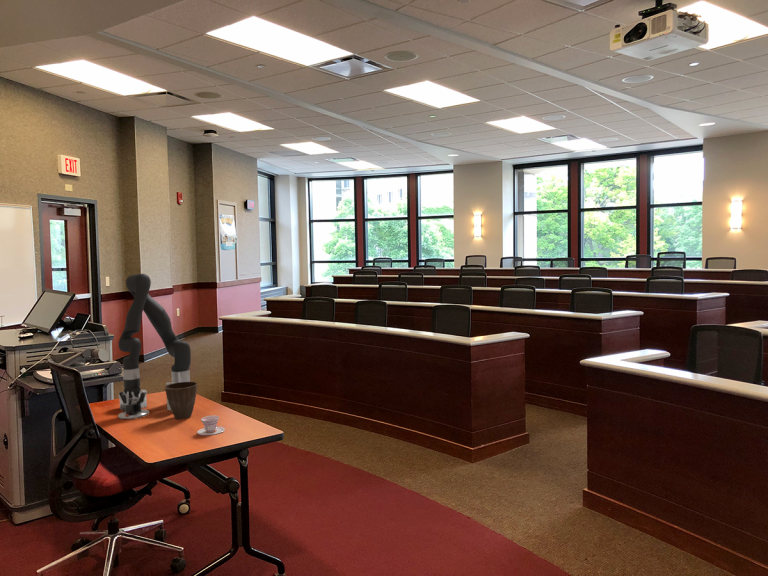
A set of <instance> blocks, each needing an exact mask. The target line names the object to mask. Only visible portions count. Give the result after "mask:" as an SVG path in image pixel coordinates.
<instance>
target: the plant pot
mask: <svg viewBox="0 0 768 576" xmlns="http://www.w3.org/2000/svg"><path fill="white" fill-rule="evenodd" d="M164 391H165V393H166V394H165V396H166V400H167V399H168V402H169V405H170V408H171V410H172V411H171V412H172V415H173V417H174V419H175V420H185V419H189V418H191V417H192V414H193V411H194V408H195V403H196V400H197V399H196V398H197V391H198V383H197V382H195V381H190V382H179V383H173V384H169V385H165V386H164Z"/></svg>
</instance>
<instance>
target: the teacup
mask: <svg viewBox="0 0 768 576" xmlns="http://www.w3.org/2000/svg"><path fill="white" fill-rule="evenodd" d="M219 420H220V416H219V415H207V416H204V417H202V418H201V419H200V421H201V423H202V424H203V428H201V429H199V430H197V431H196V433H197V435H199V436H205V437H206V436H215V435H219V434H222V433H224V432H225V430H226V429H225V427H223V426H217V424H218V423H219V422H218V421H219Z"/></svg>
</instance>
